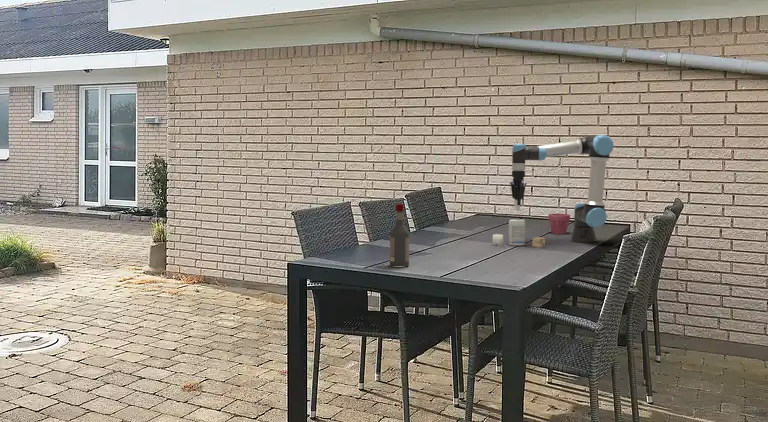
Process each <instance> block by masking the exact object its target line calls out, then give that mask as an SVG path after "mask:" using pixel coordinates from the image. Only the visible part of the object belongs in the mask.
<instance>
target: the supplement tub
mask: <svg viewBox="0 0 768 422" xmlns="http://www.w3.org/2000/svg"><path fill="white" fill-rule="evenodd" d="M508 245H509V246H513V247H514V246H515V247H521V246H525V245H526V220H525V219H509V221H508Z"/></svg>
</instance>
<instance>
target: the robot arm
mask: <svg viewBox="0 0 768 422" xmlns="http://www.w3.org/2000/svg"><path fill="white" fill-rule="evenodd" d="M526 145H527V144H525V143H514V144H513V145H512V149H511V150H512V151H511V152H512V153H511V154H512V156H511V158H512V159H511V160H512V162H511V163H512V165H511V169H512V171H511V177H512V181H510V182H509V183H510V184H509V185H510V189H511V196H512V199H514V211H515V212H520V211H521V204H522V203H521V202H522V200H523V199H524V197H525V191H526V187H527V182H525V181H524V180H525V179H524V178H525V177H526V171H525V170H526V161H545V160H546V158H550V157H551V158H552V157H558V156H565V155H573V154H578V155H588V159H590V167H589V168H590V169H589V181H588V189H587V190H588V191H587V192H588V193H587V200H586V201H585V202H584V203H576V204H575V206H574V209H573V210H574V217H573V218H574V219H573V220H574V221H573V225H574V226H573V231H572V234H571V236H570V241H571V242H574V241H575V243H596V242H597V236H596V232H595V228H599V227H601V226H603V225H605V223H606V221H607V216H608V215H607V211H605V207H606V204H605V203H604V202H603V199H604V191H605V190H604V188H605V178H606V168H607V167H606V166H607V161H609V160H610V154H611V152H613V150H614V141H613V139H611V137H609V136H608V135H605V134H595V135H594V134H593V135H588V136H585V137H581V138H577V139H575V140H571V141H564V142H563V141H562V142H557V143H551V144H550V143H549V144H542V145H541V144H540V145H534V146H526ZM595 241H596V242H595Z"/></svg>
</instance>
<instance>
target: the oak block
mask: <svg viewBox="0 0 768 422" xmlns="http://www.w3.org/2000/svg"><path fill="white" fill-rule="evenodd" d="M545 241H546V238H545V237H538V236H537V237H532V244H531V245H532V247H534V248H543V247H544V248H545V245H546V242H545Z"/></svg>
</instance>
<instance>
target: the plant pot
mask: <svg viewBox="0 0 768 422" xmlns="http://www.w3.org/2000/svg"><path fill="white" fill-rule="evenodd" d="M547 215H548V217H547V220H548V221H549V224H550V225H549V226H550V230H551V234H553V235H566V234H567V230H568V227H569V221H571V214H568V213H548V214H547Z"/></svg>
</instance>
